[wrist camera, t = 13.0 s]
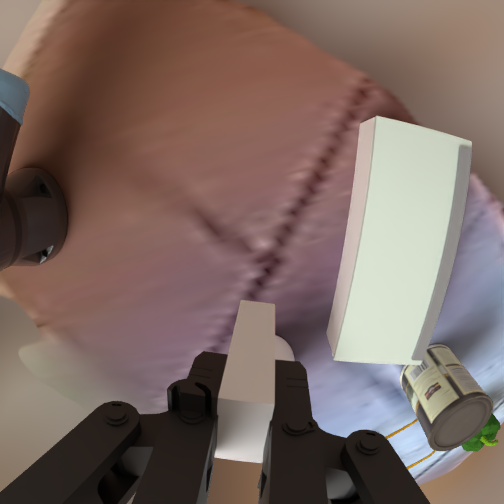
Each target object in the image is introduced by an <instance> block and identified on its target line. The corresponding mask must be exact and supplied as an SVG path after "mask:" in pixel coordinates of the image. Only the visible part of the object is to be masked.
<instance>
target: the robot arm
mask: <svg viewBox="0 0 504 504" xmlns="http://www.w3.org/2000/svg"><path fill="white" fill-rule="evenodd" d="M29 94H30V90H29V86H28V84H27V83H26V81H25V80H23V79H22V78H20V77H18V76H16V75H14V74H11V73H9V72H7V71H5V70H2V69H0V271H1V270H3V269H5V268H7V267H9V266H37V265H40V264H42V263H44V262H46V261H48V260H50V259H52V258H53V257H54V256H55V255H56V254H57V253H58V252H59V250H60V249H61V247H62V245H63V243H64V240H65V236H66V231H67V209H66V204H65V200H64V197H63V194H62V191H61V189H60V187H59V186H58V184H57V182H56V181H55V180H54V178H53V177H52V176H51V175H50V174H48V173H47V172H46V171H44V170H42V169H39V168H22V169H19V170H16V171H14V172H12V173H10V174H9V175H7V174H8V170H9V166H10V162H11V158H12V154H13V150H14V147H15V143H16V140H17V136H18V133H19V130H20V127H21V125H22V124H23V115H24V112H25V108H26V105H27V102H28V99H29ZM167 398H168V411H167V412H163V413H160V414H139V413H138V411H137V410H136V408H135V407H133V406H132V405H130V404H128V403H125V402H122V401H111V402H107V403H104V404H102V405H101V406H99V407H97V408H96V409H95V410H94V411H93V412H92V413H91V414H90V415H88V416H87V417H86V418H85V419H84V420H83V421H82V422H80V423H79V424H78V425H77V426H76V427H75V428H74V429H73V430H71V431H70V432H69V433H68V434H67V435H66V436H65V437H64V438H62V439H61V440H60V441H59V442H58V443H57V444H55V445H54V446H53V447H52V448H51V449H50V450H49V451H47V453H45V454H44V455H43V456H42V457H40V458H39V459H38V460H37V461H36V462H35V463H34V464H32V465H31V466H30V467H29V468H28V469H27V470H25V471H24V472H23V473H22V474H21V475H20V476H19V477H17V478H16V479H15V480H14V481H13V482H12V483H10V484H9V485H8V486H7V487H6V488H5V489H3V490H2V491H1V492H0V504H127V502H128V501H129V500H130V499H131V497H132V496H133V495H134V494H135V492H136V494H135V496H134V499H133V502H132V504H206V502H207V498H208V493H209V488H210V483H211V477H212V473H213V461H214V456H215V457H216V458H222V459H230V460H238V461H247V462H256V463H262V461H263V466H262V471H261V475H260V480H259V483H258V488H259V501H258V504H430V502H429V501H428V499H427V498H426V496H425V495H424V493H423V492H422V490H421V489H420V487H419V486H418V484H417V483H416V481H415V480H414V478H413V477H412V475H411V474H410V472H409V471H408V469H407V468H406V466H405V465H404V463H403V462H402V461H401V459H400V458H399V456H398V455H397V453H396V452H395V450H394V449H393V447H392V446H391V444H390V443H389V441H388V440H387V439H386V438H385V437H384V436H383V435H381V434H379V433H377V432H376V431H371V430H358V431H355V432H353V433H351V434H350V435H349V436H348V437H347V438H344V437H340V436H336V435H332V434H330V433H327V432H325V431H323V430H322V429H320V428H319V426H318V424H317V422H316V421H315V420H314V419H313V417H312V411H311V403H310V395H309V389H308V381H307V372H306V369H305V368H304V367H303V365H302V364H301V363H300V362H298V361H286V360H276V359H275V304H270V303H262V302H253V301H245V300H241V302H240V307H239V311H238V315H237V319H236V324H235V328H234V332H233V336H232V340H231V345H230V349H229V353H228V355H226V354H219V353H212V352H205V351H203V352H202V353H201V354H199V355H198V356H197V357H196V358H195V359H194V362H193V364H192V368H191V370H190V372H189V376H188V377H187V379H182V380H178V381H176V382H174V383H172V384H171V385H170V386H169V387H168V389H167Z"/></svg>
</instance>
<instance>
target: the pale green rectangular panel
mask: <svg viewBox="0 0 504 504" xmlns="http://www.w3.org/2000/svg"><path fill="white" fill-rule="evenodd" d="M471 147H472V142H471V141H468V140H465V139H462V138H459V137H456V136H453V135H449V134H446V133H442V132H439V131H436V130H432V129H429V128H425V127H421V126H418V125H414V124H410V123H406V122H402V121H397V120H393V119H389V118H384V117H380V116H376V117H375V120H374V131H373V141H372V151H371V160H370V168H369V176H368V184H367V191H366V198H365V205H364V212H363V218H362V224H361V230H360V236H359V242H358V247H357V253H356V258H355V263H354V268H353V273H352V278H351V283H350V288H349V293H348V297H347V302H346V306H345V311H344V315H343V319H342V323H341V328H340V332H339V336H338V340H337V344H336V347H335V351H334V355H333V359H334V360H335V361H348V362H362V363H379V364H402V365H421V363H422V361H423V359H424V357H425V354H426V351H427V349H428V346H429V343H430V341H431V338H432V335H433V332H434V329H435V326H436V323H437V320H438V317H439V314H440V311H441V308H442V304H443V301H444V298H445V294H446V291H447V287H448V283H449V280H450V276H451V272H452V268H453V264H454V260H455V256H456V251H457V247H458V242H459V237H460V232H461V227H462V222H463V216H464V211H465V205H466V198H467V191H468V184H469V176H470V167H471V156H472V149H471Z"/></svg>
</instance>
